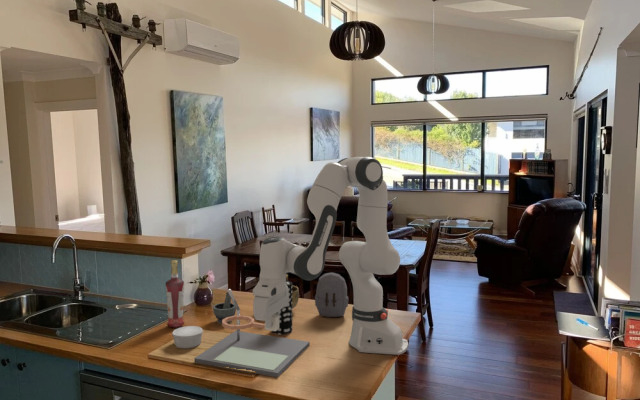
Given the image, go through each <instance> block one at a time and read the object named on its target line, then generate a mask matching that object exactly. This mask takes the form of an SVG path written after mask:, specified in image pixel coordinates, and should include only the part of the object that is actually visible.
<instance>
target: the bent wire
mask: <svg viewBox="0 0 640 400" xmlns="http://www.w3.org/2000/svg"><path fill="white" fill-rule="evenodd" d="M227 292H228V293H229V295H230V297H231V302H232V303H233V304H234V305H235V307H236V316H241V308H240V307H239V304H238V302H237V300H236V297H235V296H234V294H232V293H233V291H232V289H231V288H228V289H227ZM236 325H241V320H236ZM236 331H237V340H238V341H239V340H240V331H241V329H236Z"/></svg>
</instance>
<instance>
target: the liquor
mask: <svg viewBox="0 0 640 400" xmlns="http://www.w3.org/2000/svg"><path fill="white" fill-rule="evenodd" d="M178 265H179V263H178V260H177V259H173V260H170V267H171V272H170V273H171V274H170V279H168V280H166V282H165V291H166V293H165V295H166V303H167V304H166V305H167V326H168V327H169V328H172V329H178V328H181V327H183V325H184V324H185V321H184V299H185V298H184V297H185V295H184V294H185V292H184V291H185V290H184V289H185V287H184V286H185V282H184V280H183V279H180V278H179V273H178V271H179V270H178V267H179V266H178Z"/></svg>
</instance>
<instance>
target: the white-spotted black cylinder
mask: <svg viewBox="0 0 640 400" xmlns="http://www.w3.org/2000/svg"><path fill="white" fill-rule="evenodd" d="M286 285H287V286H288V291H289V303H288V305H287V306H285V307H284V308H282V309H281V310H280V315H279V329H278V330H277V331H271V332H272V333H273V334H274V335H279V336H283V335H285V336H286V335H290V334H291V333H293V309H292V285H293V282H292V281H289V280H288V281H286Z"/></svg>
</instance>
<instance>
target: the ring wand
mask: <svg viewBox="0 0 640 400" xmlns="http://www.w3.org/2000/svg"><path fill="white" fill-rule="evenodd" d="M237 320H240V321H248V323H245V324H240V325H237V324H230V323H228V324H227V322H228V321H232V322H233V321H237ZM271 321H272V322H273V326H272V327H271V328H267V327H266V322H265V321H264V323H261V322H255V318H254V317H252V316H249V315H240V316H237V315H234V316H231V317H227V318H225V319H223V320H222V324H221V326H222V327H223V328H225V329H228V330H235V331H237V329H240V330H246V329H249V328H258V329H264V331H271V332H272V331H277V330H278V329H279V315H272V318H271Z"/></svg>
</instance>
